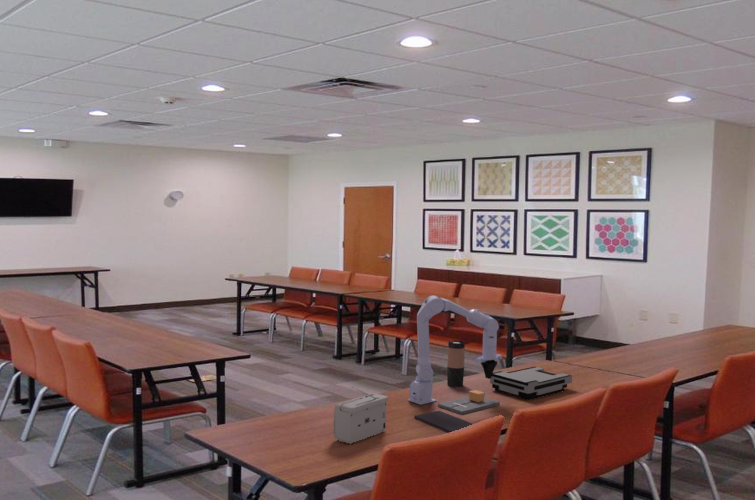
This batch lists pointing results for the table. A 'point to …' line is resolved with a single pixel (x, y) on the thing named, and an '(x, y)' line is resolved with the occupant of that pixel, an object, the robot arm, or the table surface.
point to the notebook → (442, 421)
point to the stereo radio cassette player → (360, 417)
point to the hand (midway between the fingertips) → (488, 378)
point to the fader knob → (476, 396)
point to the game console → (530, 382)
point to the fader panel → (467, 405)
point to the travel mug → (455, 363)
